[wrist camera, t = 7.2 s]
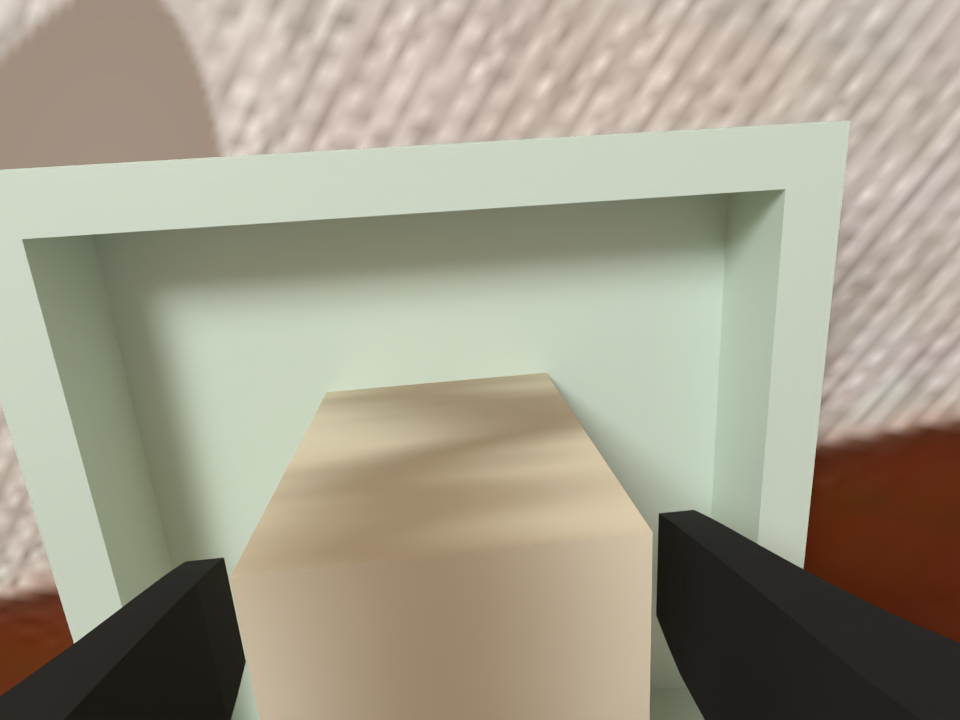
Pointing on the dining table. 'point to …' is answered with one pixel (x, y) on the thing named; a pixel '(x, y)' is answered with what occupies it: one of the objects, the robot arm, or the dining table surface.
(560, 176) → the tray
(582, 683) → the birch block
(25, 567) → the dining table surface
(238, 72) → the dining table surface
